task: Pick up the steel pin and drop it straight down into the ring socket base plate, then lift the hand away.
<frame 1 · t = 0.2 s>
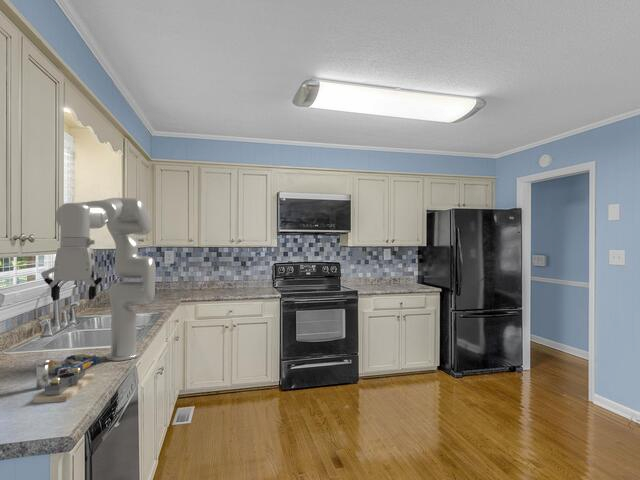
hand: (74, 299, 114), 31 cm above the worktop, tool pointing down, fingers open, 9 cm apart
steel pin: (42, 387, 123), on the worktop
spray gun: (69, 370, 142), on the worktop
ring socket base plate: (66, 389, 122), on the worktop
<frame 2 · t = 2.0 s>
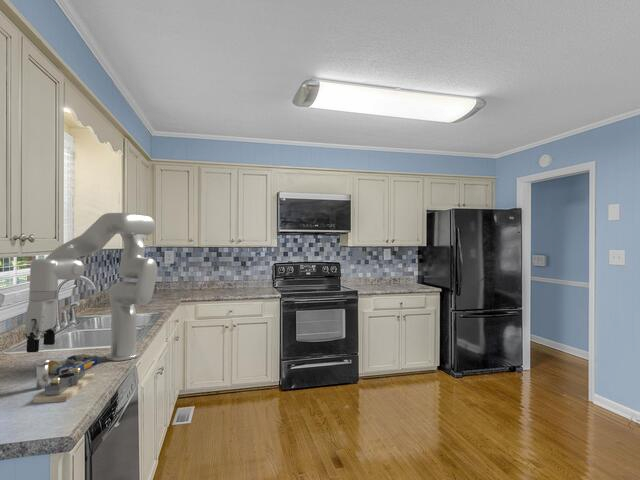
hand: (41, 348, 123), 13 cm above the worktop, tool pointing down, fingers open, 9 cm apart
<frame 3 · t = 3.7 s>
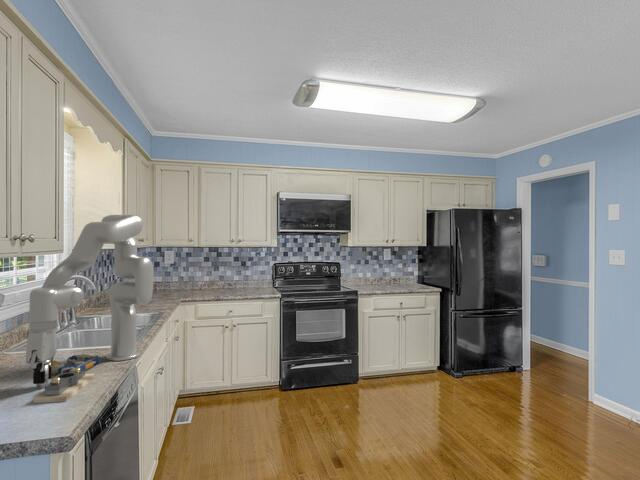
hand: (42, 380, 123), 2 cm above the worktop, tool pointing down, fingers closed on steel pin, 3 cm apart
steel pin: (42, 387, 123), on the worktop, touching gripper
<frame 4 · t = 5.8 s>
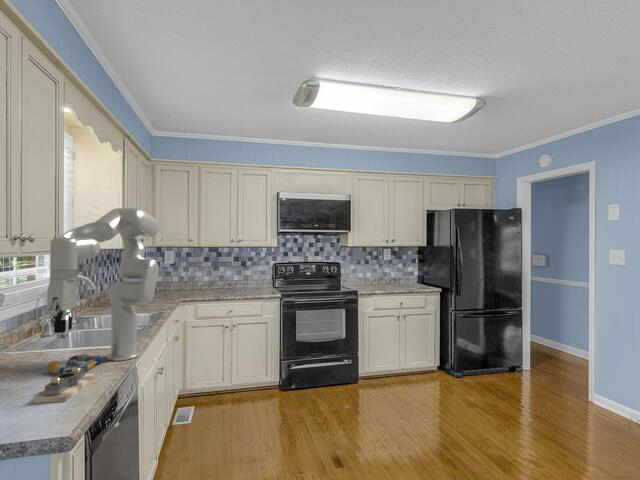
hand: (63, 330, 122), 19 cm above the worktop, tool pointing down, fingers closed on steel pin, 3 cm apart
steel pin: (62, 337, 122), point 17 cm above the worktop, touching gripper
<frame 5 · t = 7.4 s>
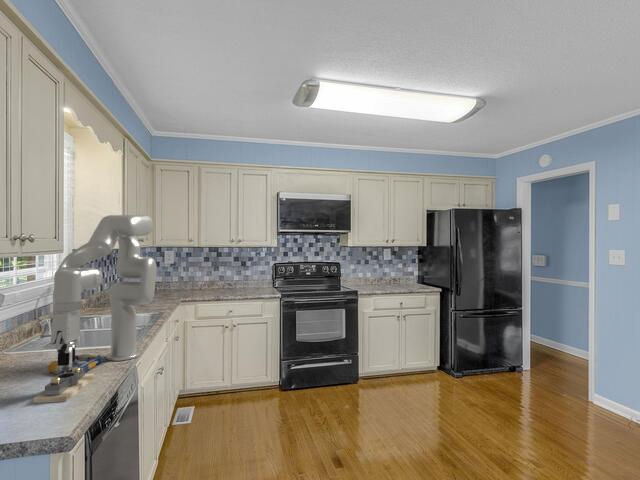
hand: (66, 362, 122), 9 cm above the worktop, tool pointing down, fingers closed on steel pin, 3 cm apart
steel pin: (66, 369, 122), point 6 cm above the worktop, touching gripper
when the fingers open (6 cm above the worktop, at t = 8.2 s): steel pin drops 2 cm, resting on ring socket base plate.
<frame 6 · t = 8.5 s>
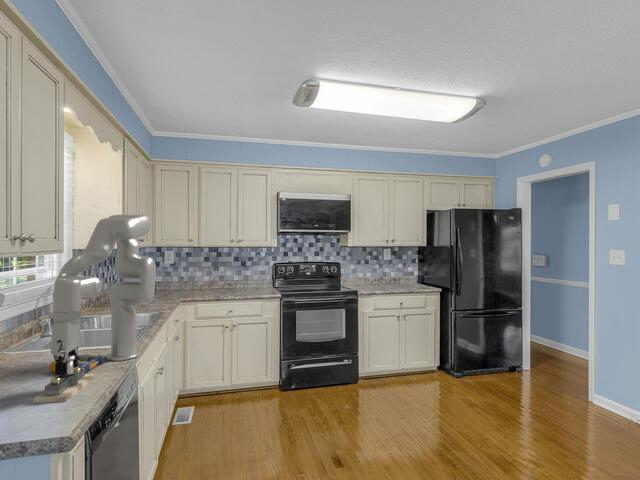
hand: (66, 370, 122), 6 cm above the worktop, tool pointing down, fingers open, 6 cm apart
steel pin: (67, 384, 122), point 2 cm above the worktop, touching ring socket base plate
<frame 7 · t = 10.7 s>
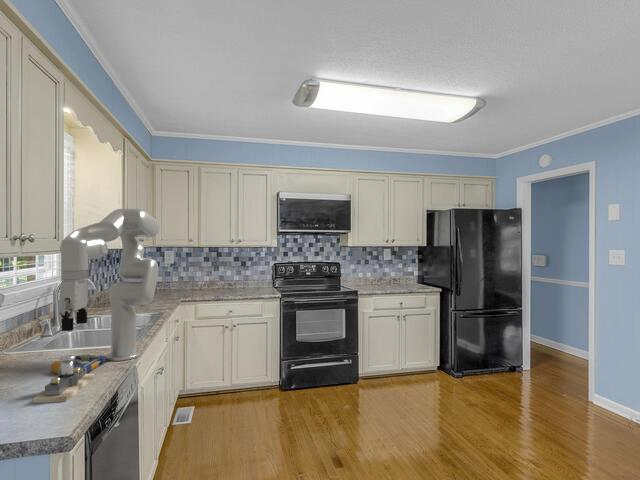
hand: (75, 326, 124), 20 cm above the worktop, tool pointing down, fingers open, 9 cm apart
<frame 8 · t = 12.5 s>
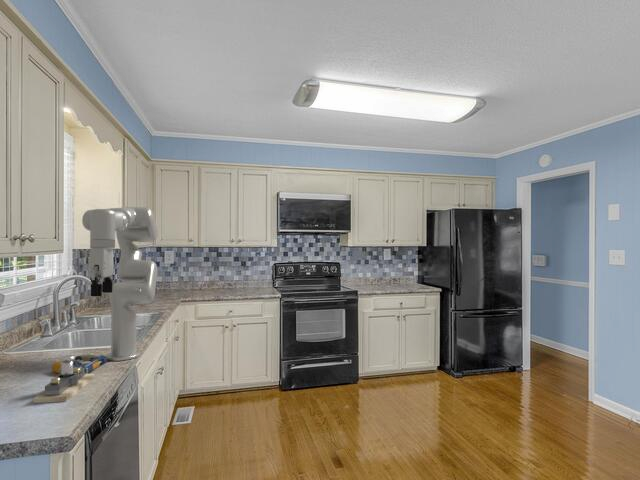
hand: (102, 294, 129), 30 cm above the worktop, tool pointing down, fingers open, 9 cm apart
at the end: steel pin 0.5 cm from the ring socket base plate (horizontally); steel pin point 1.5 cm above the worktop; steel pin tilted 0° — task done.
